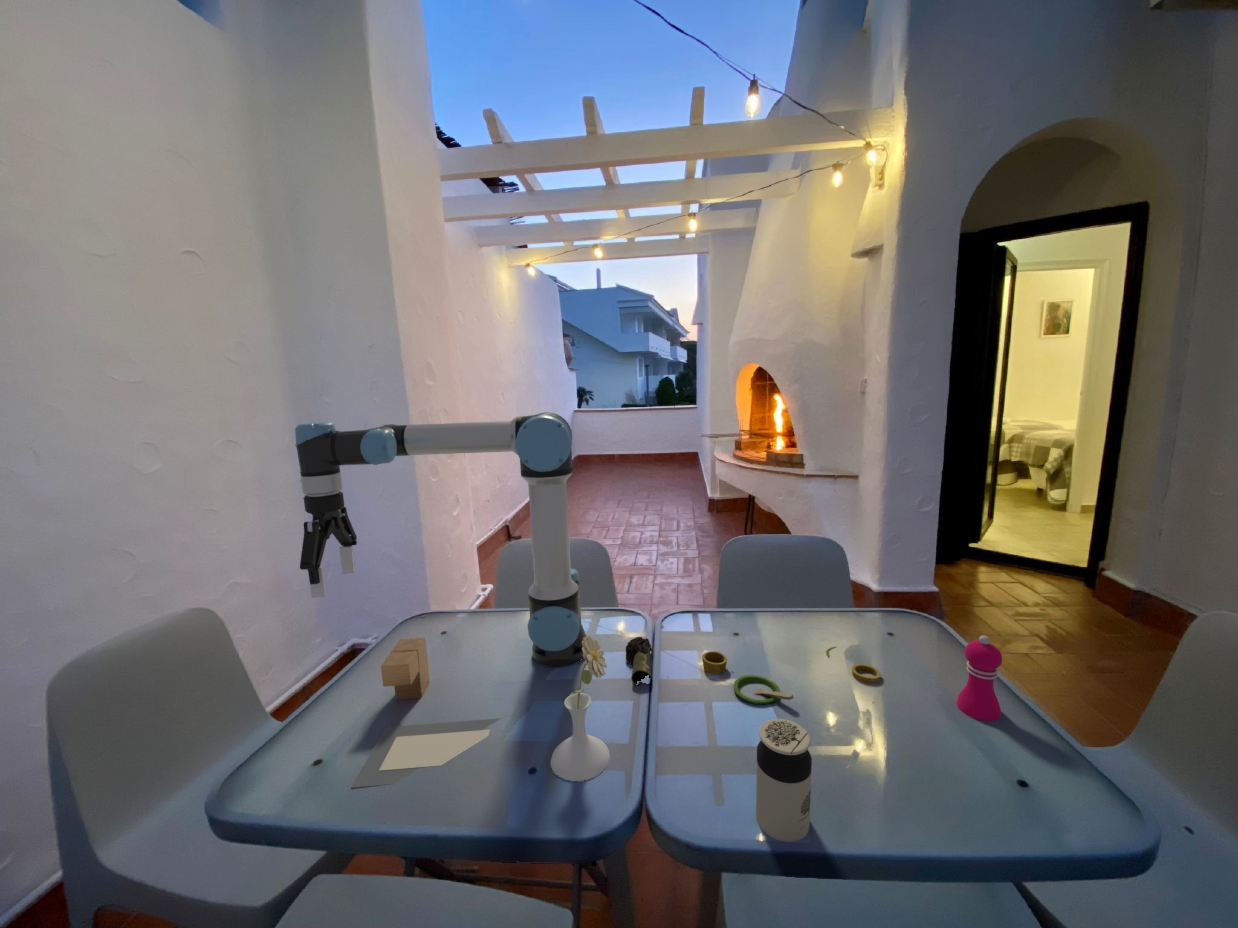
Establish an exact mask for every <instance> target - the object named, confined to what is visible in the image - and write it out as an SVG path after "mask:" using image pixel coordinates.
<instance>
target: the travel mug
mask: <svg viewBox="0 0 1238 928" xmlns="http://www.w3.org/2000/svg"><path fill="white" fill-rule="evenodd" d="M758 736H759V739H760V740H759V742H758V744H757V747H756V775H755V776H756V780H755V781H756V782H755V783H756V785H755V788H756V791H755V793H756V794H755V819H756V822H757V824H758V826H759V827H760V829H761V830H762V831H763V832H764V833H765V834H767V836H770V838H772V839H774V840H778V841H781V842H785V843H793V842H794V843H795V842H798V841H800V840H802V839H804V838H805V837H806V836H807V835H808V833H809V831H810V823H811V821H810V820H811V792H812V787H811V786H812V763H813V762H812V761H813V760H812V756H811V755H812V754H811V753H810V751H809V748H810V746H811V740H812V739H811V737H810V734H809V733H808V731H807V730H806V729H805V728H804V727H803V726H801V725H800V724H799V723H796V722H794V721H792V720H790V719H789V720H788V719H785V718H773V719H769V720H765V721H764V722H763V723H761V725H760V726H759V728H758Z"/></svg>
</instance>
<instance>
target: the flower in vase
mask: <svg viewBox="0 0 1238 928" xmlns="http://www.w3.org/2000/svg"><path fill="white" fill-rule="evenodd" d="M598 642H599V641H598V640H597V639H594V638H592V636H591V635H590V634H589V635H586V637H584V638H583V641H582V645H583V647H582V651H583V657H584V659H583V660H584V664H583V667H582V670H581V673H580V676H579V677H580V678H579V683H578V685H579V686H578V690H575V691H572V692H571V693H569V694H570V695H569V696H567V697H566V698H565V699H564V706H565V708H566V709H567V710H568V711H569V714H570V716H571V719H572V736H570V737H567V738H566V739H564V740H562V742H561V743H559V745H557V746H556V747H555V749H554V750H553V752H552V755H551V757H550V768H552V769H551V771H552V770H553V771H554V772H555V773H554V772H553V771H552V772H553V773H554V774H555V776H557V775H558V776H559V777H561V778H564V779H567V780H571V781H570V782H573V781H578V782H585V781H588V780H591V779H593V778H596V777H597V776H599V775H600V774H601V772H602V771H603V772H604V771H605V770H606V769H607V767H608V766H607V765H609V764H608V763H610V761H609V759H610V760H611V753H609V752H610V751H609V748H608V745H606V744H605V743H604V742H603V741H602V740H601V739H599V738H597V737H595V736H593V735H590V734H587V732H586V715H587V710H588V708H589V707H590V706H591V703H592V697H591V696H589V695H588V694H587V693H583V692H584V691H585V690H582V689H581V687H582V683H584V684H585V685H590V683H591V682H592V679H593V676H594V677H595V678H596V679H598V678H599V679H601V678H602V677H604V676H605V675H606V671H605V668H607V667H608V664H607V662H606V658H605V657H604V655H605V652H604V650H603V649H601V645H600V644H598ZM586 666H587V669H586ZM606 766H607V767H606ZM604 769H605V770H604ZM603 772H602V773H603ZM558 776H557V777H558ZM559 777H558V778H559ZM561 778H560V779H561ZM564 779H563V780H564ZM567 780H566V781H567ZM584 780H585V781H584Z"/></svg>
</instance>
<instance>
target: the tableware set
mask: <svg viewBox="0 0 1238 928" xmlns="http://www.w3.org/2000/svg"><path fill="white" fill-rule="evenodd" d="M836 648H837V646H831V647H829V648H827V649H826V651H825V654H826V656H827V657H828V659H830V656H831V655H830V651H832V650H833V649H836ZM701 660H702V664H703V666H702V667H703V671H705V672H706V673H708V674H710V675H717V676H718V675H721V674H723V673H725V671H726V668H727V662H728V657H727V656H726V654H725V653H722V652H720V651H716V650H709V651H707V652H704V653H703V654H702V657H701ZM851 671H852V672H851V674H852V677H853V678H854V679H856V680H857V681H859V682H862V683H864V684H877V683H878V682H880V679H881V676H882V674H881V672H880V670H879V669H878V668H876V667H874V666H872V665H868V664H864V663H857V664H854V665H852V667H851ZM863 672H864V673H868V674H871V675H872V676H866V675H863V674H860V673H863ZM733 683H734V684H733V690H734V693H735V694H736V695H737V696H738V698H740V699H741V700H742V701H744V702H747V703H750V704H754V705H763V706H764V705H770V704H772V703H774V702H775V701H777V700H778V699H780V700H784V701H785V700H786V701H789V700H790V701H791V700H793V699H794V694H793V693H791V692H781V689H780V687H779V686H778V684H776V682H774V681H773V680H771V679H770V678H767V677H765V676H761V675H755V674H754V675H753V674H746V675H742V676H740V677H738V678H737V679H735V681H734V682H733ZM748 684H761V685H764V686H765V687H768V688H770V689H771V690H772V691H769V690H764V689H762V688H760V689H759V690H757V691H756V692H754V695H755V696H756V695H757V696H762V697H763V696H764V697H770V698H766V699H754V698H751V697H750V696H749V697H748V696H747V695H745V694H743V693H742V692H741V689H742V688H743V687H744V686H745V685H748Z"/></svg>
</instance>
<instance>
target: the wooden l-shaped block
mask: <svg viewBox="0 0 1238 928" xmlns="http://www.w3.org/2000/svg"><path fill="white" fill-rule="evenodd" d="M428 662H429V661H428V652H427V643H426V637H418V638H417V637H416V638H402V639H399V640H398V641H397V643H396V644H395V645H394V648H392V650H391V651H390V653H389V654H388V655H387V657H386V658H385V659H384V661H383V662H382V664H381V665H380V668H381V678H382V687H384V688H386V687H393V688H394V694H395V700H396V701H397V700H407V699H417V698H423V696H424V695H425V692H426V691H427V688H428V687H429V685H430V683H431V682H430V671H429V663H428Z"/></svg>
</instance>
